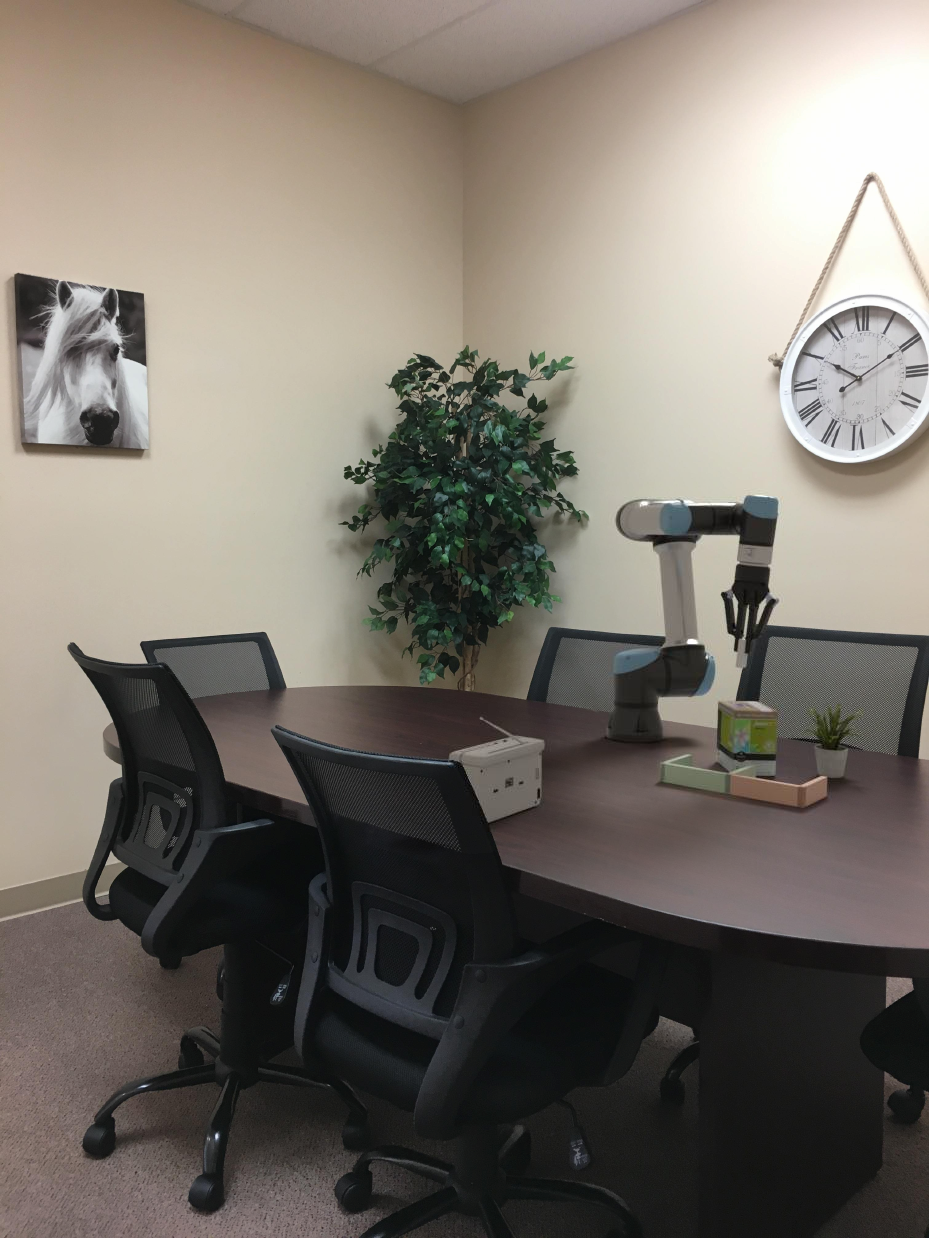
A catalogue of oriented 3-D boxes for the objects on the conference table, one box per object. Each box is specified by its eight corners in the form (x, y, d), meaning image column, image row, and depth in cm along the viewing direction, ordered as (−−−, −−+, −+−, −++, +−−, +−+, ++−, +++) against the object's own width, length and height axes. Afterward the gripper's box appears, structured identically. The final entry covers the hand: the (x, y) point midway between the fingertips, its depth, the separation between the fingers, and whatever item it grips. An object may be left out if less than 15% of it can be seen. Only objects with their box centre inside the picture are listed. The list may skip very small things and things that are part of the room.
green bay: (659, 781, 205) (659, 762, 205) (686, 771, 214) (687, 754, 213) (730, 794, 194) (730, 775, 194) (755, 783, 202) (756, 765, 202)
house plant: (874, 785, 201) (877, 709, 200) (806, 782, 204) (808, 707, 202) (860, 770, 215) (863, 699, 214) (796, 767, 218) (798, 697, 216)
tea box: (777, 776, 209) (779, 710, 208) (731, 776, 209) (733, 710, 208) (757, 761, 224) (759, 699, 223) (715, 761, 224) (716, 699, 223)
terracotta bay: (730, 794, 194) (730, 775, 194) (755, 783, 202) (756, 765, 202) (803, 807, 184) (803, 787, 183) (826, 796, 192) (827, 776, 192)
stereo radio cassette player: (513, 798, 191) (513, 700, 189) (547, 805, 186) (548, 704, 184) (446, 821, 175) (445, 714, 173) (481, 830, 170) (481, 719, 168)
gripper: (719, 561, 215) (707, 663, 218) (776, 568, 207) (763, 673, 210) (731, 560, 221) (719, 660, 224) (787, 567, 213) (774, 670, 216)
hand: (740, 666), depth 217 cm, fingers closed
